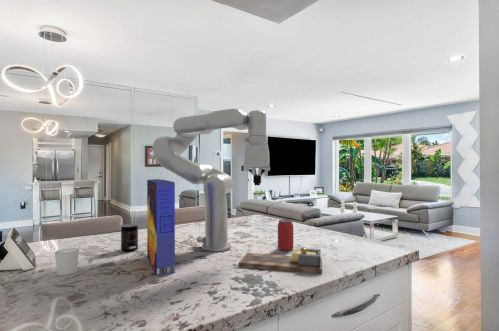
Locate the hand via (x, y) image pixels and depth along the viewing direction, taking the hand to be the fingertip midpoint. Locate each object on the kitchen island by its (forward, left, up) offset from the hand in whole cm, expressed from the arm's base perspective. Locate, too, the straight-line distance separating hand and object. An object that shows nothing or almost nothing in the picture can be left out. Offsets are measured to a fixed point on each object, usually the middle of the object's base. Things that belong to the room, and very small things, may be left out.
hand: (257, 185), depth 122 cm
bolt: (+20, -15, -25) cm, 36 cm away
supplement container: (-52, -12, -27) cm, 60 cm away
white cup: (-56, -39, -27) cm, 74 cm away
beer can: (+11, +5, -27) cm, 30 cm away
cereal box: (-30, -25, -27) cm, 48 cm away
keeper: (+22, -15, -26) cm, 37 cm away
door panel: (+12, -15, -27) cm, 33 cm away
